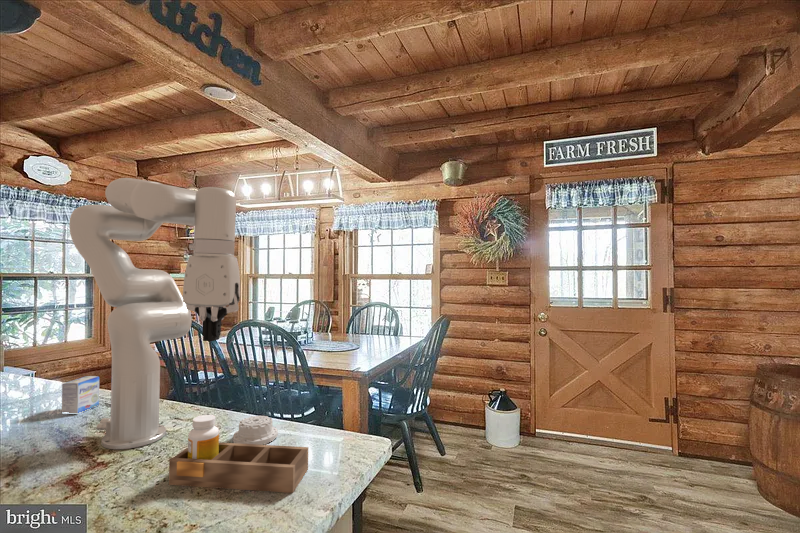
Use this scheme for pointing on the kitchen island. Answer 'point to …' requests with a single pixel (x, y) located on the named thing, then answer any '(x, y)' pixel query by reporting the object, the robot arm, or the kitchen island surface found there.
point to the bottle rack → (243, 468)
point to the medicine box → (80, 394)
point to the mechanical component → (255, 431)
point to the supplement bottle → (203, 438)
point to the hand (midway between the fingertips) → (211, 339)
